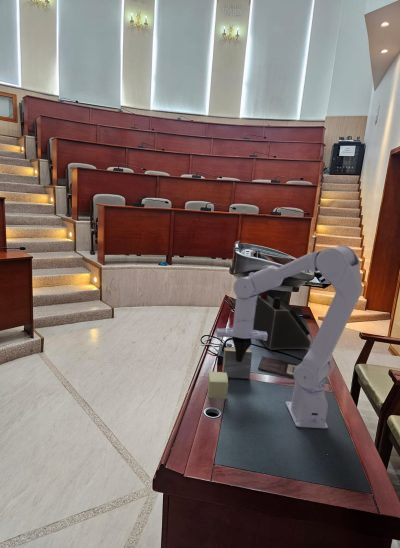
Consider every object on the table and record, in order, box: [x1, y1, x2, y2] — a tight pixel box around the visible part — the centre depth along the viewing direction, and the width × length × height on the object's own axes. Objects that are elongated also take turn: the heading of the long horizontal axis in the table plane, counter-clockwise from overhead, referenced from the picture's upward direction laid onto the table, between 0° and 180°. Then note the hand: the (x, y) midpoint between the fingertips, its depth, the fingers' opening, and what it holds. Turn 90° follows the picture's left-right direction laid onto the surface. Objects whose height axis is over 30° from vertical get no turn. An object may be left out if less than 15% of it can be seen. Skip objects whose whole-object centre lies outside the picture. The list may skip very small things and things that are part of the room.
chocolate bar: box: [257, 356, 299, 379], centre depth 107 cm, size 9×1×18 cm
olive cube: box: [206, 371, 229, 400], centre depth 90 cm, size 5×5×5 cm
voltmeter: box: [253, 290, 312, 351], centre depth 125 cm, size 16×16×20 cm
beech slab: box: [221, 347, 253, 379], centre depth 100 cm, size 4×8×8 cm, turn 92°
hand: (238, 360), depth 97 cm, fingers closed
